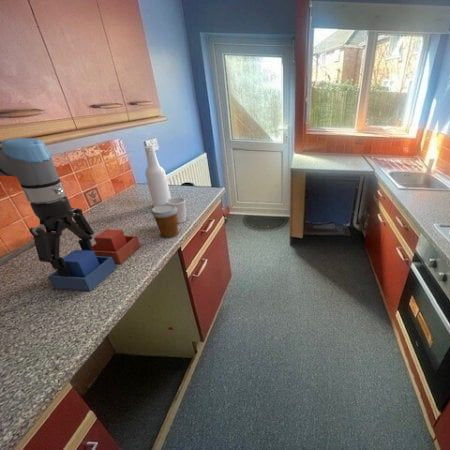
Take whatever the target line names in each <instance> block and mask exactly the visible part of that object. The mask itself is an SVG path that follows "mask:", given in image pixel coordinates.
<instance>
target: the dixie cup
mask: <svg viewBox="0 0 450 450" xmlns="http://www.w3.org/2000/svg"><path fill="white" fill-rule="evenodd" d="M186 201H187V199H186V198H185V197H181V196H175V197H171V198H170V199H168V200H166V201H165V203H166V204H173V205H175V206H176V208H177V209H178V210H177V223H178V224H180V223H181V224H182V223H184V222H186V221H187V210H186V209H187V208H186Z"/></svg>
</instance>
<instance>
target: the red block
mask: <svg viewBox="0 0 450 450" xmlns="http://www.w3.org/2000/svg"><path fill="white" fill-rule="evenodd" d="M125 236H126V235H125V233H124V229H113V228H112V229H111V228H107V229H104V230H103V231H102V232H100V233H99V234H97V235H95V236H94V237H93V239H94V241H95V244H97V246H98V249H99V251H110V252H117V251H118V250H119V249H120V248H122V247H123V246H124V245H125V244H127V241H126V238H125Z"/></svg>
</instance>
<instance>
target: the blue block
mask: <svg viewBox="0 0 450 450" xmlns="http://www.w3.org/2000/svg"><path fill="white" fill-rule="evenodd" d="M63 259H64V261H65V263H66V265H67V268H68V270H69V272H70V274H71V276H69V277H82V278H85V277H86V276H87V275H88V274H90V273H91V272H92V271H93V270H95V269H96V268H97V267H98V266H99V265H100V264H99V262H98V260H97V257H96V255H95V252H94V251H88V250H82V249H74V250H72V251H71V252H70V253H68V254H66V255H65V256H63Z"/></svg>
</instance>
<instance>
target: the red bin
mask: <svg viewBox="0 0 450 450" xmlns="http://www.w3.org/2000/svg"><path fill="white" fill-rule="evenodd" d="M125 238H126V241H127V244H125V245H124V246H123V247H122V248H120V249H119V250H118V251H117V252H110V251H99V249H98V246H97V244H96V243H94V244H92V247H91V248H92V251H94V252H95V255H96V256H106V257H112V258H113V261H114V264H122V263H123V262H124V261H126V260H127V259H128V258H129V257H130V256H131V255H133V253H135V252H136V251H137V250H138V249H139V248H140V247H141V244H140V241H139V238H138V235H125Z"/></svg>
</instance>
